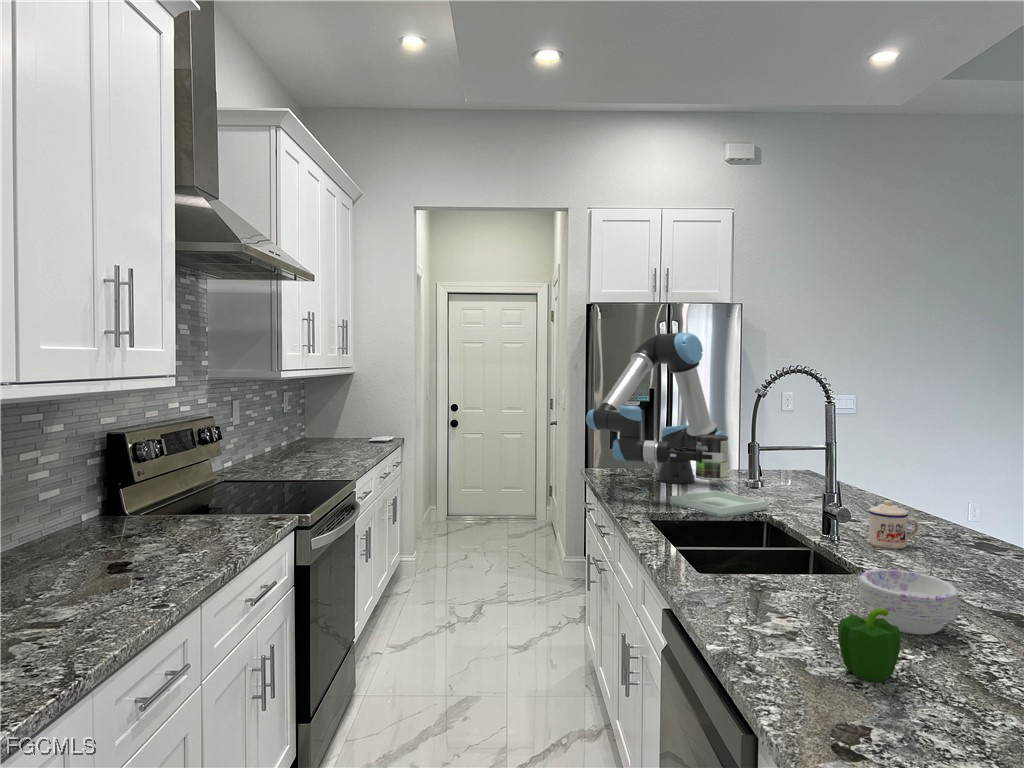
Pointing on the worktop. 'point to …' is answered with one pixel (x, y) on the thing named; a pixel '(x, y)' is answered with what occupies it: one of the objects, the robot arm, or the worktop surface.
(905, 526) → the teacup with lid
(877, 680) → the bell pepper
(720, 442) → the coffee can
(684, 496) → the tray
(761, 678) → the worktop surface
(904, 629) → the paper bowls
